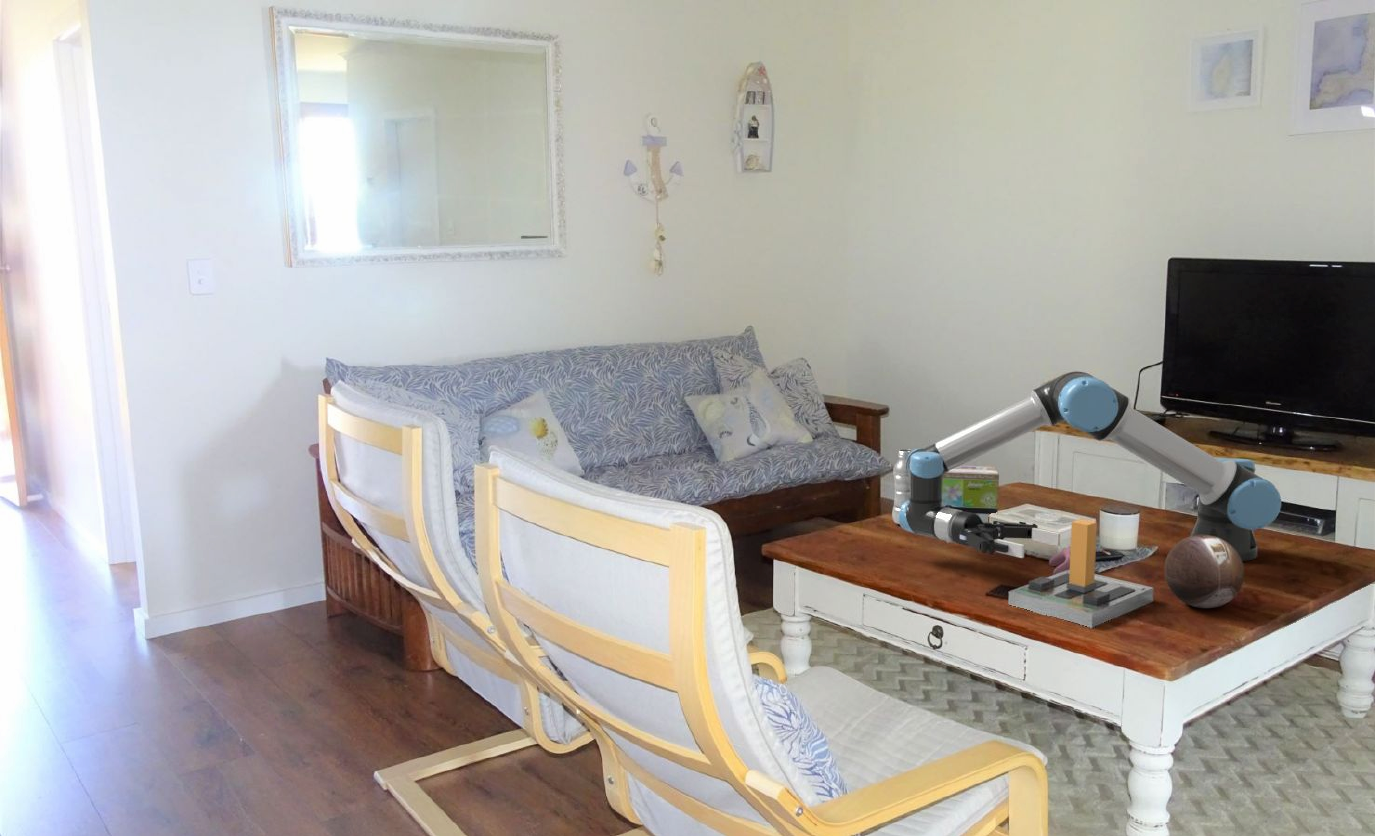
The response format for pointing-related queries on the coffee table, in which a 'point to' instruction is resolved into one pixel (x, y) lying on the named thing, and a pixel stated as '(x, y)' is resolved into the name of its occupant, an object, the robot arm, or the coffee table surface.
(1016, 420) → the robot arm
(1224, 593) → the wooden sphere
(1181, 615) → the coffee table surface
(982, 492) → the tea box
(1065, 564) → the video game controller
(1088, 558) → the handle
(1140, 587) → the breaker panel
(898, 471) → the plastic bottle
